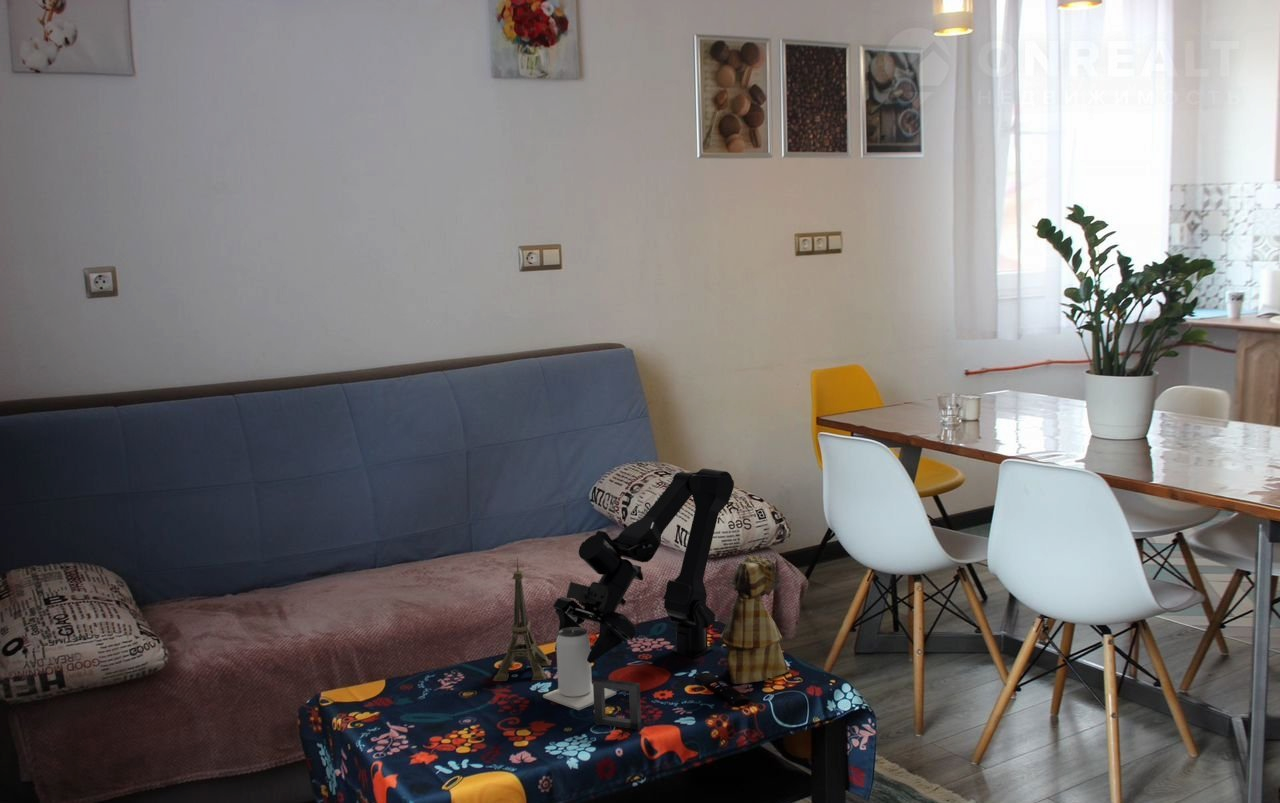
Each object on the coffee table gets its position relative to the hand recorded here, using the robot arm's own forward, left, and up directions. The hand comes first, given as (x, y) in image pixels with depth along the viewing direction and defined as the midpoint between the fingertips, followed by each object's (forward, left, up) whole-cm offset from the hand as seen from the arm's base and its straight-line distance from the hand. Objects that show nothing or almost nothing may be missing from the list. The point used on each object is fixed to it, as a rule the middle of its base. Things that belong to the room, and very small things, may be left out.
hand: (572, 656), depth 218 cm
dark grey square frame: (+4, +15, -8) cm, 18 cm away
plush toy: (-31, +18, -8) cm, 37 cm away
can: (-2, -1, -8) cm, 8 cm away
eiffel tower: (-3, -19, -9) cm, 21 cm away
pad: (-1, 0, -8) cm, 8 cm away
